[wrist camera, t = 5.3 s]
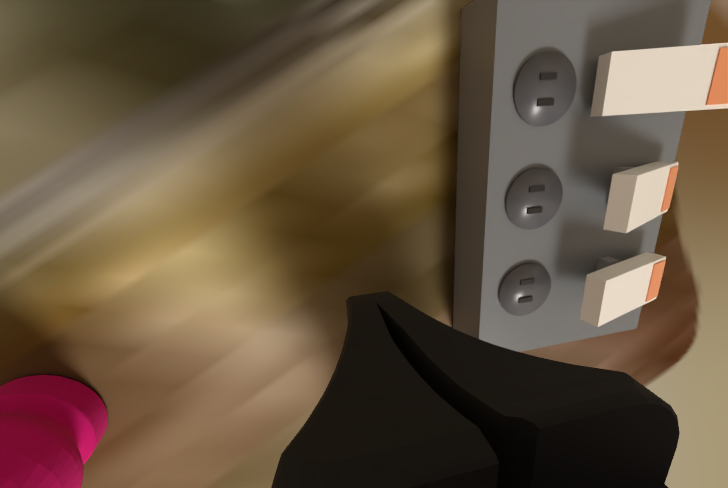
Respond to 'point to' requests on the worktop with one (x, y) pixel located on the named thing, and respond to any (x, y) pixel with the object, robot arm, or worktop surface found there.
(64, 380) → the pepper mill
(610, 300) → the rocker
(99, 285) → the worktop surface
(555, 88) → the power strip
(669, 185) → the middle rocker
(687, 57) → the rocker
